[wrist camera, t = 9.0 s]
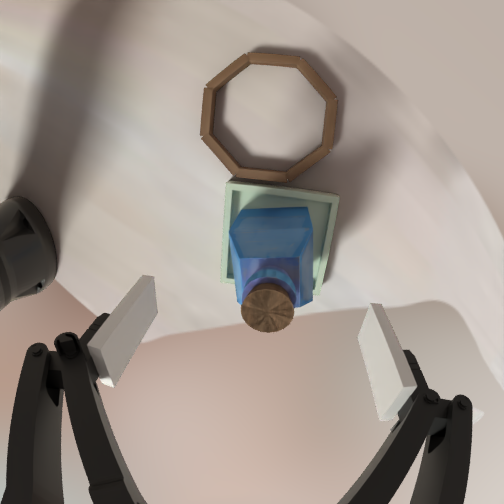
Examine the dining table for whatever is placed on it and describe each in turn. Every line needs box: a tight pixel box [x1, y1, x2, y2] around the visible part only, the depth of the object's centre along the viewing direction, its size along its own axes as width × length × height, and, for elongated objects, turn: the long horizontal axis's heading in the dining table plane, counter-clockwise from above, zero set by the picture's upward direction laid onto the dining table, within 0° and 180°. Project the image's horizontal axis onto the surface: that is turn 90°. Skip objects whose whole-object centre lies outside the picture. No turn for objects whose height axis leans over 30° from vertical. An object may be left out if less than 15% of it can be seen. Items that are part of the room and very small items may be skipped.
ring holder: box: [200, 52, 338, 183], centre depth 23 cm, size 12×12×1 cm
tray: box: [220, 180, 340, 295], centre depth 27 cm, size 10×10×2 cm
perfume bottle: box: [228, 207, 313, 333], centre depth 22 cm, size 6×6×12 cm
